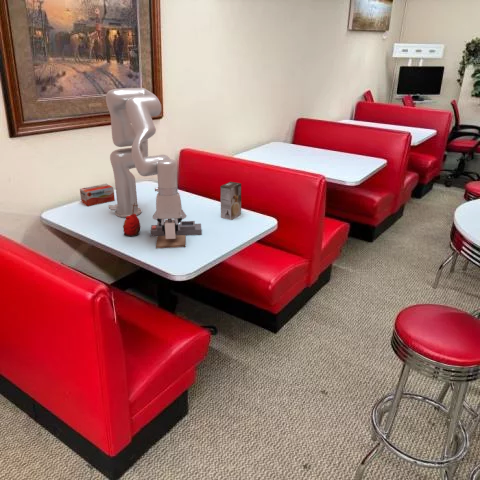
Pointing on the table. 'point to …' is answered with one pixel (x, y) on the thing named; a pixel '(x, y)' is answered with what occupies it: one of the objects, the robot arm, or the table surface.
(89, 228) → the table surface
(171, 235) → the plug
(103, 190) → the medicine box
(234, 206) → the coffee box
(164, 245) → the walnut mat
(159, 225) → the power strip
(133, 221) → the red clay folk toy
